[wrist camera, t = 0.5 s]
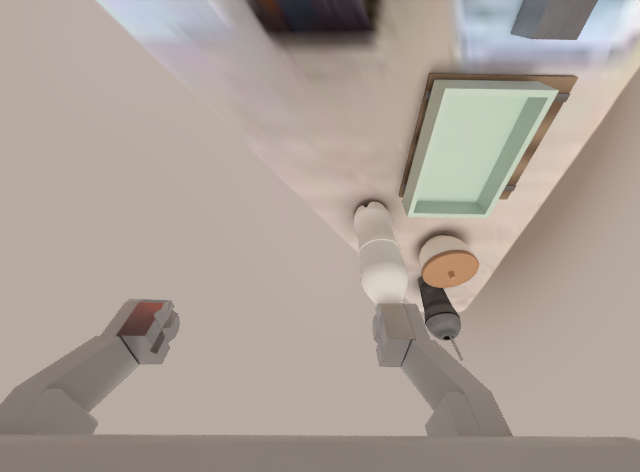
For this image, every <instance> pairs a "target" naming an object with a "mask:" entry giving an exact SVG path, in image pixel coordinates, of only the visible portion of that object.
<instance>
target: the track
mask: <svg viewBox="0 0 640 472" xmlns="http://www.w3.org/2000/svg"><path fill="white" fill-rule="evenodd" d="M577 79H578V77H576V76H552V75H494V74H435V73H429V77H428V81H427V85H426V89H425V93H424V97H423V101H422V105H421V109H420V113H419V117H418V121H417V125H416V129H415V133H414V137H413V141H412V145H411V149H410V153H409V157H408V161H407V165H406V169H405V173H404V177H403V181H402V184H401V188H400V192H399V197H403V196H404V193H405V189H406V185H407V181H408V178H409V174H410V170H411V166H412V163H413V159H414V155H415V151H416V148H417V144H418V140H419V136H420V133H421V129H422V125H423V121H424V118H425V114H426V110H427V106H428V103H429V99H430V95H431V91H432V88H433V84H434V80H485V81H538V82H541V83H543V84H545V85H548V86H550V87H552V88H555V89H557V90H559V92H558V93H557V95H556V97H555V99H554V101H553V102H552V104H551V106H550V108H549V110H548V111H547V113H546V115H545V117H544V119H543V120H542V122H541V124H540V126H539V127H538V129H537V131H536V133H535V135H534V136H533V138H532V140H531V142H530V144H529V145H528V147H527V149H526V151H525V153H524V154H523V156H522V158H521V160H520V162H519V163H518V165H517V167H516V169H515V170H514V172H513V174H512V176H511V178H510V179H509V181H508V183H507V185H506V187H505V188H504V190H503V192H502V194H501V196H500V197H499V199H508V197H509V195H510V193H511V192H512V191H514V189H515V187H516V186H515V185H516V183H517V182H518V180H519V178H520V176H521V175H522V173H523V171H524V170H525V168H526V166H527V164H528V163H529V161H530V159H531V158H532V156H533V154H534V152H535V151H536V149H537V147H538V146H539V144H540V142H541V140H542V139H543V137H544V135H545V134H546V132H547V130H548V128H549V127H550V125H551V123H552V122H553V120H554V118H555V117H556V115H557V113H558V111H559V110H560V108H561V106H562V105H563V103H564V102H566V101H567V99H568V97H569V96H570V94H569V93H570V91H571V89H572V87H573V86H574V84H575V82H576V81H577Z"/></svg>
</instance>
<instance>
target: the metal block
mask: <svg viewBox="0 0 640 472" xmlns="http://www.w3.org/2000/svg"><path fill="white" fill-rule="evenodd" d="M597 1H598V0H524V1H523V3H522V6H521V8H520V11H519V14H518V16H517V19H516V21H515V24H514V26H513V29H512V31H511V34H513V35H518V36H522V37H526V38H530V39H560V40H577V38H578V36H579V35H580V33H581V31H582V29H583V27H584V25H585V23H586V21H587V20H588V18H589V16H590V14H591V12H592V10H593V8H594V7H595V5H596V3H597Z"/></svg>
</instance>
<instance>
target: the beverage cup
mask: <svg viewBox="0 0 640 472" xmlns="http://www.w3.org/2000/svg"><path fill="white" fill-rule="evenodd" d="M418 281H419V287H420V292H421V297H422V302H423V307H424V311H425V324H426V326H427V328H428V330H429V331H430V333H431V334H433V335H434V336H435V337H437V338H438V339H441V340H451V341H452V344H453V346H454V347H455V350H456V352H457V354H458V356H459V358H460V360H461V361H462V360H463V358H462V356H461V354H460V352H459V350H458V348H457V346H456V344H455V342H454V340H453V338H455V337H456V336H457V335H458V333H459V332H460V328H461V323H460V317H459V315H458V314H457V312H456V311H455V309H454V308H453V307H452V305H451V303H450V301H449V299H448V297H447V295H446V293H445V291H444V289H443V288H438V287H433V286H431V285H429V284H427V283H426V282H425V281H424V280H423V277H422V276H421V277H420V278H419V280H418Z"/></svg>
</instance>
